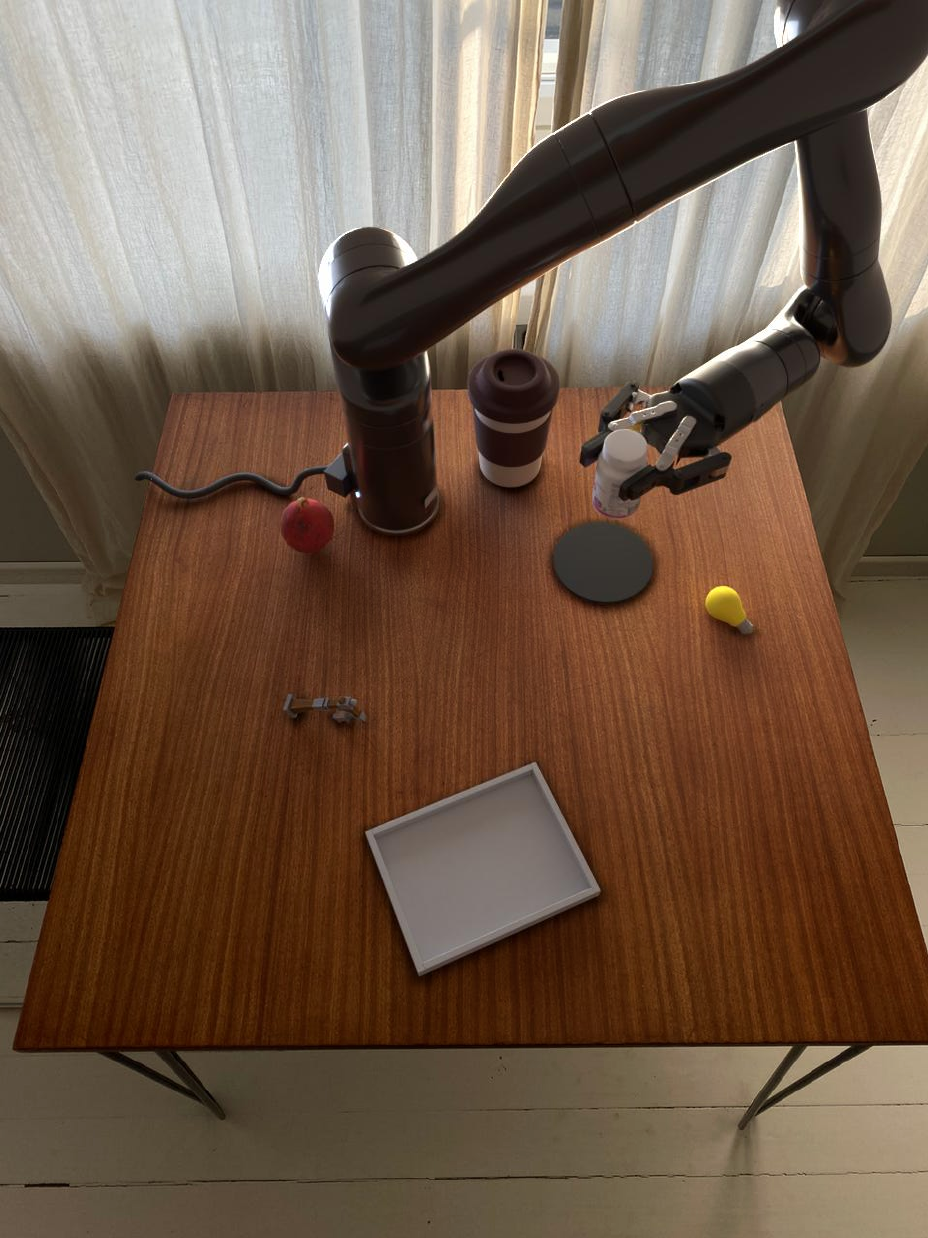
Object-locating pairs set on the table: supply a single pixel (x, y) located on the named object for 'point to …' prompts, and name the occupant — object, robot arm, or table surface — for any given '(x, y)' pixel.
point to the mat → (603, 562)
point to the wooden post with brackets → (326, 707)
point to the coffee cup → (512, 413)
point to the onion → (307, 525)
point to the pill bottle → (618, 473)
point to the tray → (480, 867)
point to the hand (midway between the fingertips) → (602, 475)
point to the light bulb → (728, 608)
